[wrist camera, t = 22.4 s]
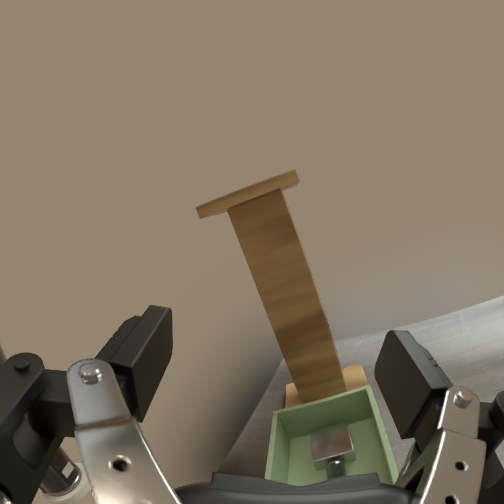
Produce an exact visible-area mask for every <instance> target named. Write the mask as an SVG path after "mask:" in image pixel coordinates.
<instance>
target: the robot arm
mask: <svg viewBox="0 0 504 504" xmlns="http://www.w3.org/2000/svg"><path fill="white" fill-rule="evenodd" d="M172 348H173V338H172V310H171V309H170V308H167V307H161V306H155V305H150V306H149V307H148V309H147V310H146V311H145V313H144V314H143V315H142V316H141V317H140V316H134V317H132V318H130V319H128V320H126V321H124V323H123V324H122V325H121V326H120V327H119V329H118V331H116V332H115V334H114V335H113V337H111V338H110V340H109V341H108V342H107V344H106V345H105V346H104V347H103V348H102V350H101V351H100V352H99V353H98V355H97V356H96V357H95V358H94V359H92V358H91V359H83V360H80V361H77V362H75V363H74V364H72V365H71V366H70V367H69V369H68V371H59V370H49V369H45V367H44V364H43V361H42V359H41V358H40V357H39V356H38V355H36V354H32V353H19V354H16V355H14V356H12V357H10V358H9V359H8V360H7V358H6V356H5V354H4V351H3V349H2V347H1V344H0V504H32V501H33V499H34V497H35V495H36V493H37V491H38V488H40V489H41V490H42V491H43V492H44V493H45V494H47V493H48V494H49V495H51V496H55V497H59V496H64V495H66V494H68V493H70V492H71V491H73V490H74V489H75V488H76V487H77V486H78V484H79V483H80V481H81V478H82V472H81V470H80V468H79V467H78V466H77V465H76V464H75V463H74V462H73V461H72V460H71V459H70V458H69V456H68V455H67V454H66V453H65V451H64V450H63V449H62V448H61V447H60V444H61V443H62V441H63V439H64V437H75V438H76V442H77V446H78V449H79V453H80V457H81V460H82V463H83V467H84V470H85V473H86V476H87V479H88V482H89V485H90V488H91V491H92V493H93V496H94V499H95V502H96V504H504V469H503V467H502V465H501V463H500V461H499V459H498V457H497V455H496V453H495V449H496V448H497V447H498V446H499V445H500V443H501V442H502V441H503V440H504V391H502V392H499V393H498V394H497V396H496V398H495V399H494V401H493V403H486V402H480V400H479V398H478V396H477V395H476V394H475V393H474V392H473V391H471V390H470V389H468V388H466V387H462V386H453V384H452V383H451V382H450V380H449V379H448V377H447V376H446V375H445V373H444V372H443V371H442V369H441V368H440V366H439V367H438V364H437V362H436V361H435V360H433V357H432V356H431V354H430V353H429V352H428V350H426V349H425V348H424V347H422V346H421V345H420V344H418V343H417V342H416V340H415V339H414V338H413V336H412V335H411V334H410V332H409V331H396V330H391V331H389V332H388V333H387V335H386V337H385V340H384V343H383V346H382V348H381V351H380V354H379V356H378V359H377V362H376V365H375V372H374V373H375V379H376V381H377V383H378V386H379V388H380V390H381V392H382V395H383V397H384V399H385V402H386V404H387V406H388V408H389V411H390V413H391V415H392V418H393V420H394V423H395V425H396V427H397V430H398V432H399V435H400V437H401V439H407V438H415V440H416V441H415V442H414V443H413V445H412V446H411V449H410V451H409V453H408V456H407V458H406V460H405V463H404V465H403V467H402V469H401V472H400V474H399V476H398V478H397V480H396V482H395V484H394V485H392V484H387V483H380V480H379V477H378V473H377V472H376V473H368V474H360V475H350V476H340V477H337V478H333V479H330V480H326V481H322V482H318V483H314V484H310V485H306V486H294V485H290V484H285V483H281V482H276V481H272V480H268V479H264V478H260V477H257V476H246V475H236V474H227V473H219V472H213V473H212V479H211V482H202V483H195V484H190V485H185V486H182V487H178V488H176V489H173V488H172V486H171V484H170V483H169V481H168V479H167V477H166V476H165V474H164V472H163V470H162V469H161V467H160V465H159V463H158V461H157V460H156V458H155V456H154V454H153V452H152V450H151V448H150V446H149V444H148V442H147V440H146V438H145V436H144V434H143V432H142V430H141V428H140V426H139V424H138V422H140V423H142V422H143V419H144V417H145V415H146V413H147V410H148V408H149V406H150V404H151V401H152V399H153V397H154V394H155V392H156V390H157V388H158V386H159V383H160V381H161V379H162V377H163V375H164V372H165V370H166V368H167V366H168V364H169V361H170V358H171V355H172Z"/></svg>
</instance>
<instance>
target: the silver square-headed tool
mask: <svg viewBox="0 0 504 504" xmlns="http://www.w3.org/2000/svg"><path fill="white" fill-rule="evenodd" d="M310 436H311V450H312V462H313V464H314V466H315V469H316V471H318V470H323V469H326V474H327V480H330V479H333V478H337V477H340V476H347V473H346V467H345V463H349V462H352V461H356V456H355V451H354V447H353V442H352V438H351V434H350V430H349V426H348V423H347V421H345V422H342V423H338V424H335V425H332V426H328V427H325V428H321V429H317V430H314V431H310Z"/></svg>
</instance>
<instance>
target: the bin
mask: <svg viewBox="0 0 504 504" xmlns="http://www.w3.org/2000/svg"><path fill="white" fill-rule="evenodd" d="M345 421H347V423H348V426H349V430H350V434H351V438H352V442H353V447H354V451H355V456H356V461H352V462H349V463H345V467H346V473H347V476H350V475H360V474H368V473H376V472H377V473H378V477H379V480H380V483H387V484H392V485H394V484H395V482H396V480H397V478H398V476H399V475H398V471H397V468H396V464H395V461H394V457H393V454H392V451H391V447H390V444H389V441H388V437H387V434H386V431H385V428H384V425H383V422H382V419H381V416H380V413H379V410H378V407H377V404H376V401H375V398H374V395H373V392H372V389H371V386H370V384H369V385H366V386H363V387H360V388H357V389H354V390H351V391H348V392H344V393H341V394H338V395H334V396H331V397H327V398H324V399H320V400H317V401H313V402H309V403H305V404H301V405H297V406H293V407H289V408H284V409H280V410H275V411H273V418H272V426H271V434H270V442H269V449H268V456H267V464H266V471H265V477H264V479H268V480H272V481H276V482H281V483H285V484H290V485H294V486H306V485H310V484H314V483H318V482H322V481H326V480H327V474H326V469H323V470H318V471H316V469H315V466H314V464H313V462H312V450H311V436H310V431H314V430H317V429H321V428H325V427H328V426H332V425H335V424H338V423H342V422H345Z"/></svg>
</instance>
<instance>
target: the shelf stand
mask: <svg viewBox="0 0 504 504" xmlns="http://www.w3.org/2000/svg"><path fill="white" fill-rule="evenodd" d="M298 182H299V178H298V175H297V173H296V170H295V169H293V170H290V171H288V172H285V173H282V174H279V175H276V176H274V177H271V178H268V179H266V180H263V181H260V182H258V183H255V184H253V185H250V186H247V187H245V188H242V189H240V190H237V191H235V192H232V193H229V194H227V195H225V196H222V197H219V198H217V199H215V200H212V201H210V202H207V203H205V204H203V205H200V206H198V207H196V209H197V212H198V215H199V217H200V219H201V218H205V217H209V216H212V215H217V214H220V213H224V212H227V211H228V214H229V217H230V219H231V222H232V224H233V227H234V230H235V232H236V235H237V238H238V240H239V243H240V245H241V248H242V251H243V253H244V256H245V258H246V261H247V264H248V266H249V269H250V271H251V274H252V276H253V279H254V282H255V284H256V287H257V290H258V292H259V294H260V297H261V300H262V302H263V305H264V308H265V310H266V313H267V315H268V318H269V320H270V323H271V325H272V328H273V330H274V333H275V336H276V338H277V341H278V343H279V346H280V349H281V351H282V354H283V356H284V359H285V361H286V364H287V366H288V369H289V371H290V374H291V376H292V379H293V382H294V383H292V384H288V385H286V401H285V408H289V407H293V406H297V405H301V404H305V403H309V402H313V401H317V400H320V399H324V398H327V397H331V396H334V395H338V394H341V393H344V392H348V391H351V390H354V389H357V388H360V387H363V386H366V385H368V382H367V379H366V376H365V373H364V370H363V368H362V365H361V363H359V364H356V365H353V366H350V367H347V368H343V369H342V367H341V364H340V361H339V357H338V354H337V351H336V347H335V344H334V341H333V337H332V334H331V331H330V328H329V324H328V321H327V318H326V315H325V312H324V309H323V305H322V303H321V299H320V296H319V293H318V290H317V287H316V284H315V281H314V278H313V275H312V272H311V269H310V266H309V263H308V260H307V257H306V255H305V252H304V249H303V246H302V243H301V240H300V237H299V235H298V232H297V229H296V227H295V224H294V221H293V218H292V215H291V212H290V210H289V207H288V205H287V202H286V199H285V196H284V194H283V190H285V189H288V188H291V187H294V186H297V184H298Z"/></svg>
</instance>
